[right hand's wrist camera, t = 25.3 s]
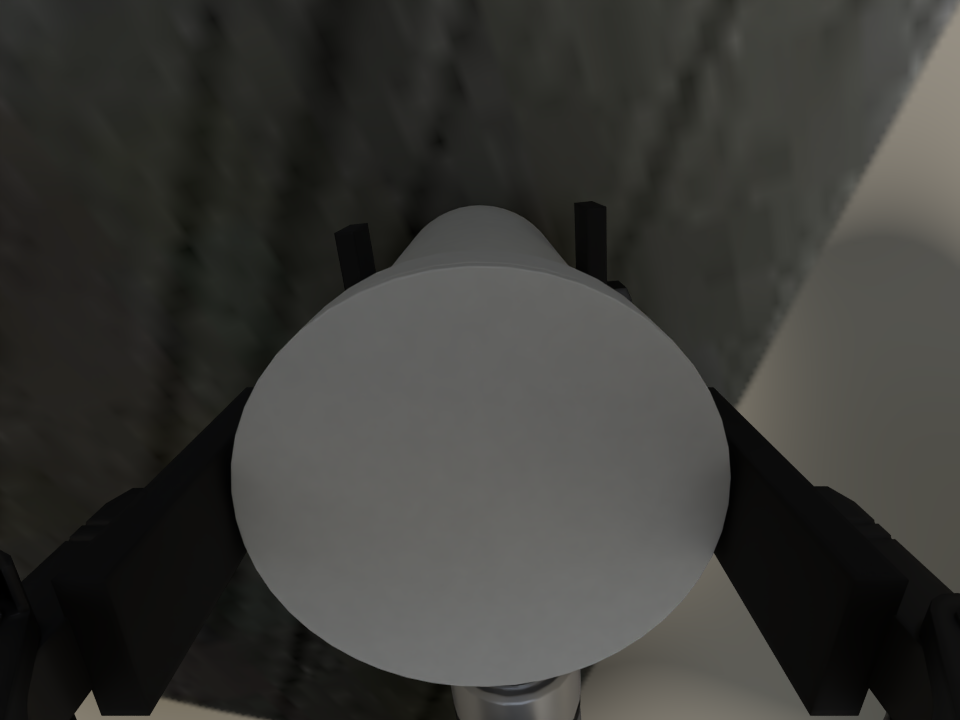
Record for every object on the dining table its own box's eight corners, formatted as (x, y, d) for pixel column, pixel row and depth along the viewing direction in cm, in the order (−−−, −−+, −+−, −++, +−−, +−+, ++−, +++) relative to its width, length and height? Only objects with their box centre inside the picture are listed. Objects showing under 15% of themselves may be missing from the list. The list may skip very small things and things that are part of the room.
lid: (391, 671, 15) (381, 734, 13) (172, 367, 11) (122, 402, 10) (746, 551, 13) (782, 605, 12) (612, 161, 10) (638, 162, 8)
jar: (505, 390, 31) (538, 681, 14) (371, 315, 30) (217, 540, 12) (593, 261, 28) (770, 424, 11) (450, 171, 27) (395, 196, 9)
